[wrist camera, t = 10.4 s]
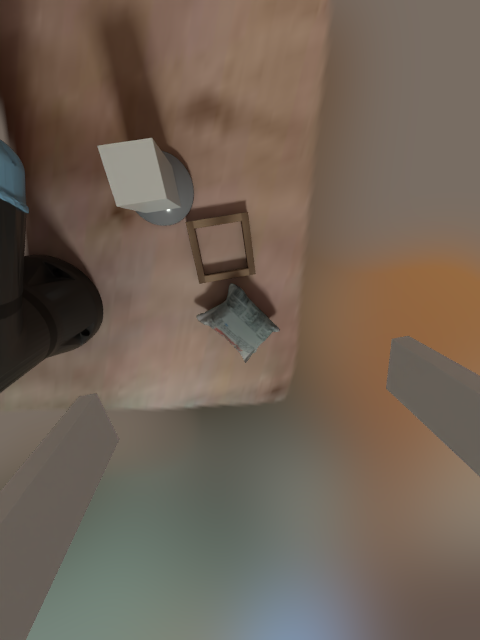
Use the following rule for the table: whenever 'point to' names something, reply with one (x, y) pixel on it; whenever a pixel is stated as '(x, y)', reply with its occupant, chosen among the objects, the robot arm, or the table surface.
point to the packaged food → (239, 322)
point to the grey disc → (184, 193)
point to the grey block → (140, 176)
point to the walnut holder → (196, 252)
